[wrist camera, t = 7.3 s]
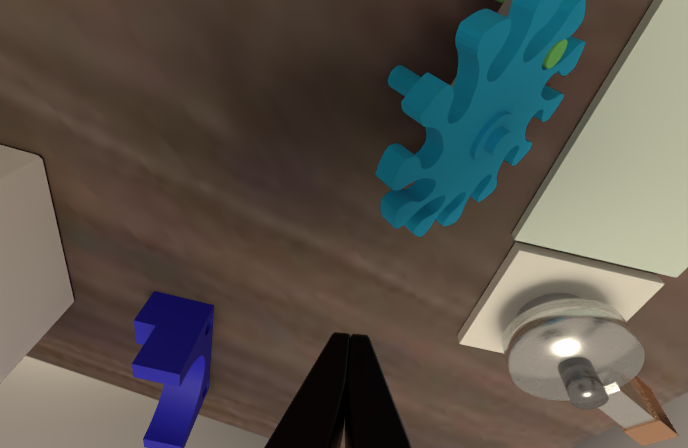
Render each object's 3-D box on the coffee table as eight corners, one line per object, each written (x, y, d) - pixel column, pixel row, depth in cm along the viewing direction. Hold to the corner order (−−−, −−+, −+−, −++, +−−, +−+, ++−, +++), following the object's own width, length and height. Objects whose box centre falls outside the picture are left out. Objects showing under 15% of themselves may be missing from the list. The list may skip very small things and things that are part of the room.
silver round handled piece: (688, 375, 25) (740, 448, 21) (586, 410, 29) (616, 479, 25) (580, 271, 21) (622, 340, 17) (476, 328, 24) (492, 395, 21)
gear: (470, 242, 20) (353, 252, 12) (394, 179, 23) (262, 154, 15) (635, 38, 16) (620, -150, 8) (516, -8, 19) (419, -178, 11)
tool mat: (930, 10, 14) (949, 12, 14) (670, 270, 23) (676, 277, 22) (688, -57, 14) (699, -58, 14) (511, 233, 22) (514, 239, 22)
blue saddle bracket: (155, 289, 28) (107, 358, 23) (214, 303, 29) (179, 374, 24) (161, 375, 35) (125, 443, 30) (209, 386, 36) (181, 454, 31)
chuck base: (656, 274, 23) (681, 304, 21) (573, 360, 28) (587, 389, 26) (515, 241, 22) (527, 269, 21) (457, 334, 28) (462, 363, 26)
